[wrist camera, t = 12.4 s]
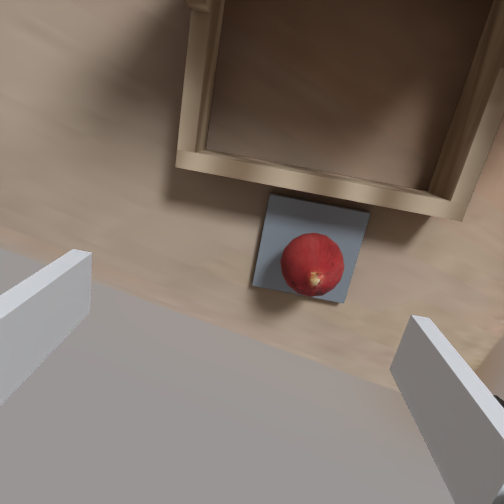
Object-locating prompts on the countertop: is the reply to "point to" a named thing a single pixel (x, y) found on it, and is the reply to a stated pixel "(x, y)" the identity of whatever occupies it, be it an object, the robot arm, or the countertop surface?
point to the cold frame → (339, 186)
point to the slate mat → (302, 222)
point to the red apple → (312, 264)
